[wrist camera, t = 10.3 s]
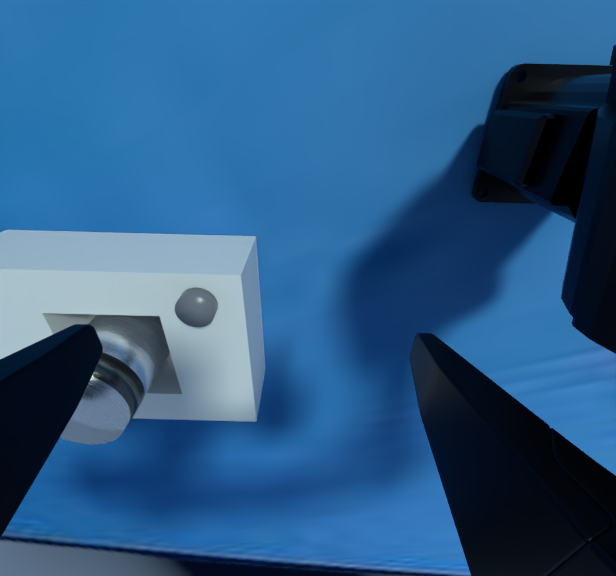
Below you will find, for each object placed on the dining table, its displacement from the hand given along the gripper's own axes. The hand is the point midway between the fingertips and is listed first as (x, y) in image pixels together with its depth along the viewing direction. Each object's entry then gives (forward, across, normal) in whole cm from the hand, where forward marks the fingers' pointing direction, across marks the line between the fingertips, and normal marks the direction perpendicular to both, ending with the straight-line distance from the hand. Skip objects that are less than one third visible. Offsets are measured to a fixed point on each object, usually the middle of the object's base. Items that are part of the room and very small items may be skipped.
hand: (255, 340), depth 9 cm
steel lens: (+10, +10, +8) cm, 16 cm away
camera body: (+12, +10, +8) cm, 18 cm away
